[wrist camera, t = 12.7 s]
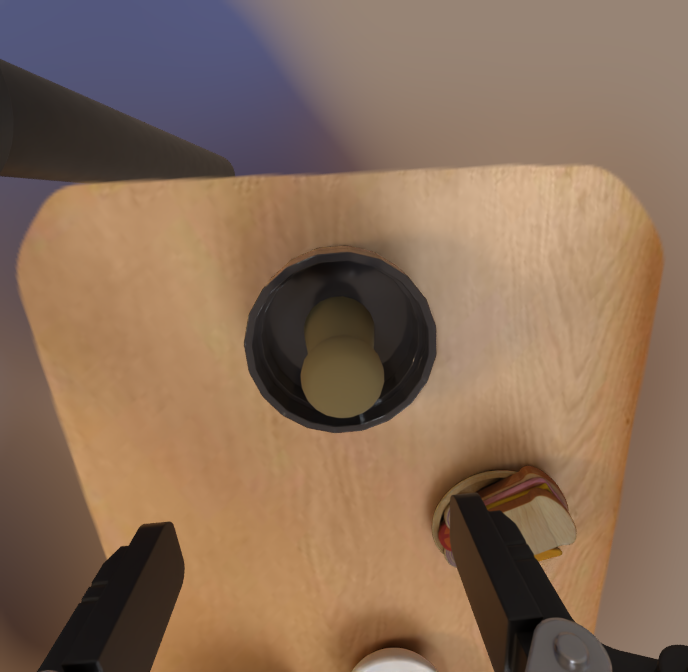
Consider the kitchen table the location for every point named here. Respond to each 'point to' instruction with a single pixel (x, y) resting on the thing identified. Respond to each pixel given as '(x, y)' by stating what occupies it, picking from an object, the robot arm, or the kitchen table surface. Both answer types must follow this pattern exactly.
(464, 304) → the kitchen table surface
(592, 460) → the kitchen table surface
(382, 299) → the dark grey bowl
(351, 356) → the cork
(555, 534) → the toy sandwich meal
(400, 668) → the spoon rest
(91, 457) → the kitchen table surface
